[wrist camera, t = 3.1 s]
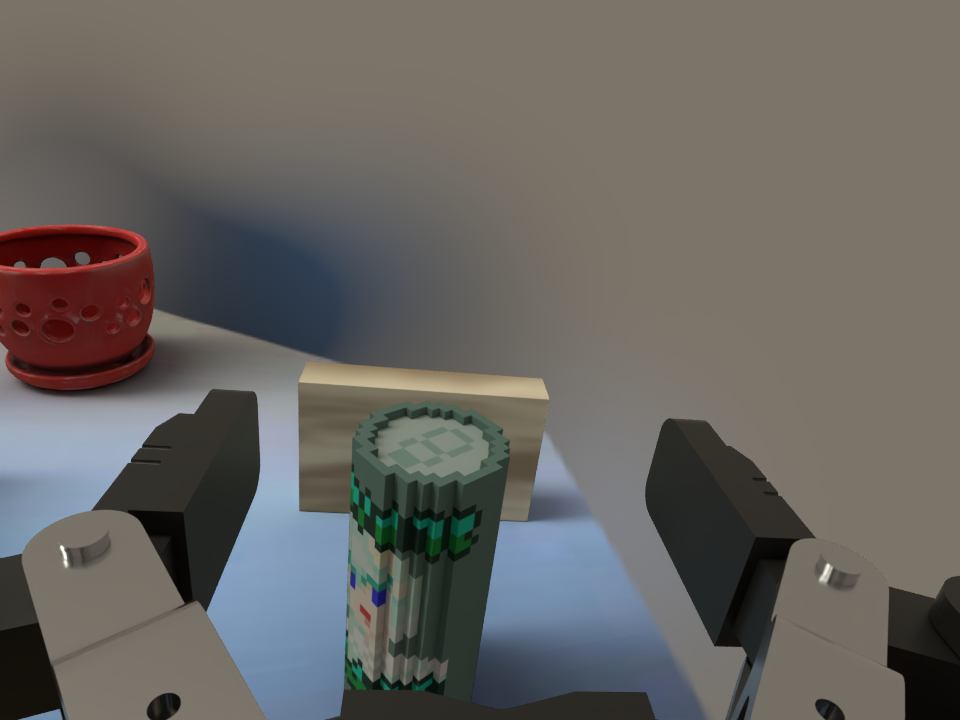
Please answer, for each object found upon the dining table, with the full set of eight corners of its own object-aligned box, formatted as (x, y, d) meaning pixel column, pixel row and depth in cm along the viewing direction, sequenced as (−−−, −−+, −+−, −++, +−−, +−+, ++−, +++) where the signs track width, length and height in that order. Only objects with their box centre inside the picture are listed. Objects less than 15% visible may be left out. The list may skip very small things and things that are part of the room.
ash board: (526, 521, 44) (549, 399, 40) (299, 510, 42) (298, 382, 38) (521, 495, 47) (542, 378, 43) (307, 484, 45) (307, 361, 41)
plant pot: (13, 344, 59) (-14, 221, 54) (165, 338, 65) (153, 224, 60) (-26, 411, 49) (-64, 265, 44) (160, 396, 54) (145, 264, 49)
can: (324, 680, 31) (327, 426, 25) (419, 622, 35) (442, 390, 29) (394, 777, 27) (419, 505, 21) (492, 699, 31) (538, 451, 25)
